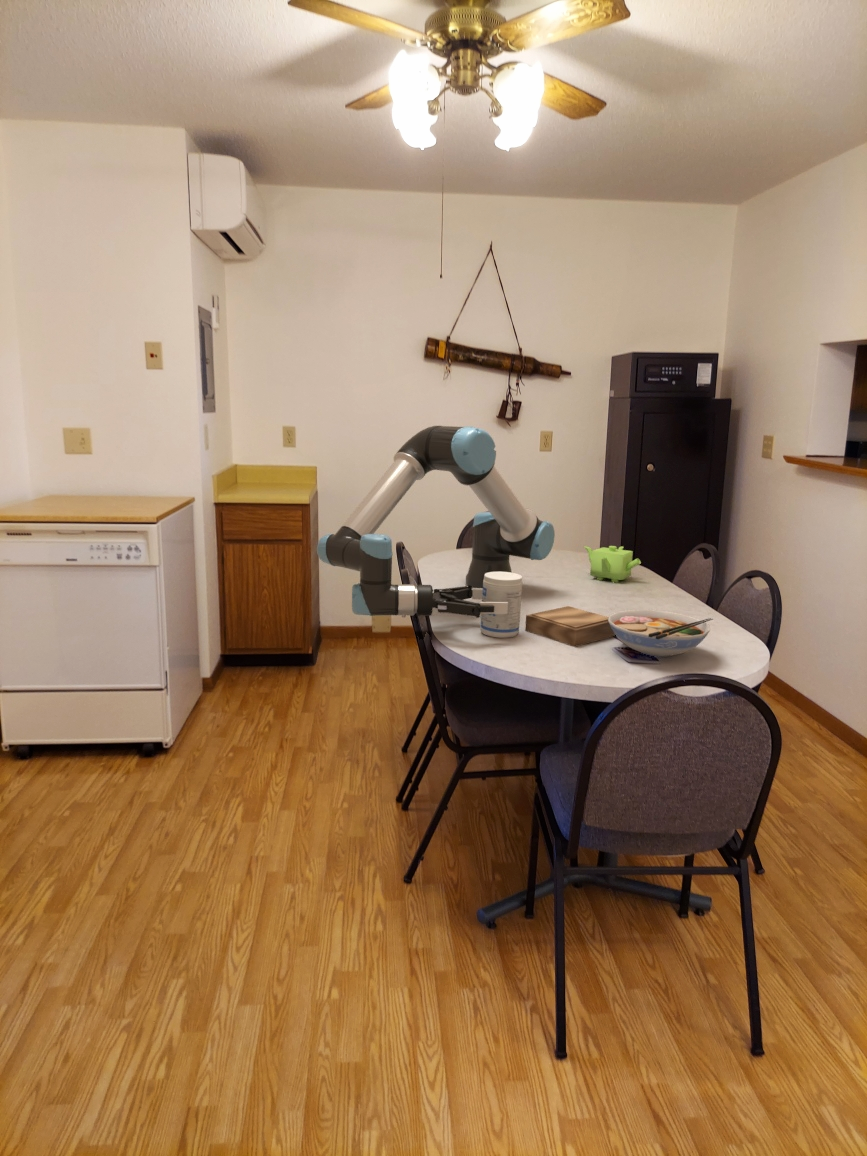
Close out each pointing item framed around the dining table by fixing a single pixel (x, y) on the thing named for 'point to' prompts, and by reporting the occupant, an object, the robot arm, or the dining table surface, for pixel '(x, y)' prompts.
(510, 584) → the supplement tub
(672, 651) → the ramen bowl
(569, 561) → the dining table surface
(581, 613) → the stand
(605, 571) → the kettle
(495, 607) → the robot arm
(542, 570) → the dining table surface
